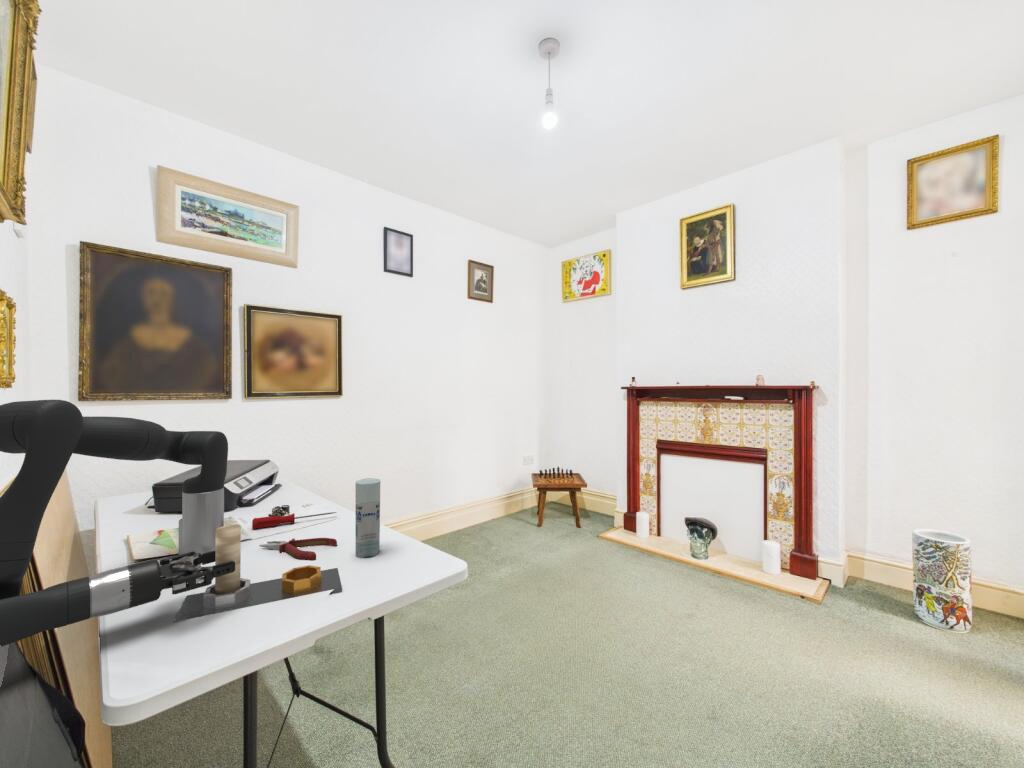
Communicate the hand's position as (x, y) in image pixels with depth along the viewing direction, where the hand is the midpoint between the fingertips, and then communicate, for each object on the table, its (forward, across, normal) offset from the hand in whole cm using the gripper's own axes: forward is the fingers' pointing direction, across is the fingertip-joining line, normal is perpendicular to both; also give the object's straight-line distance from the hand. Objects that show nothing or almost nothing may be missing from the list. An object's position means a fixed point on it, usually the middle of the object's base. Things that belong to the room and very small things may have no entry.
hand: (228, 559), depth 88 cm
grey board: (+6, -2, +9) cm, 12 cm away
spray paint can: (+33, +2, +10) cm, 35 cm away
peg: (0, 0, +8) cm, 8 cm away
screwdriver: (+30, +42, +10) cm, 52 cm away
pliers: (+22, +19, +10) cm, 31 cm away
